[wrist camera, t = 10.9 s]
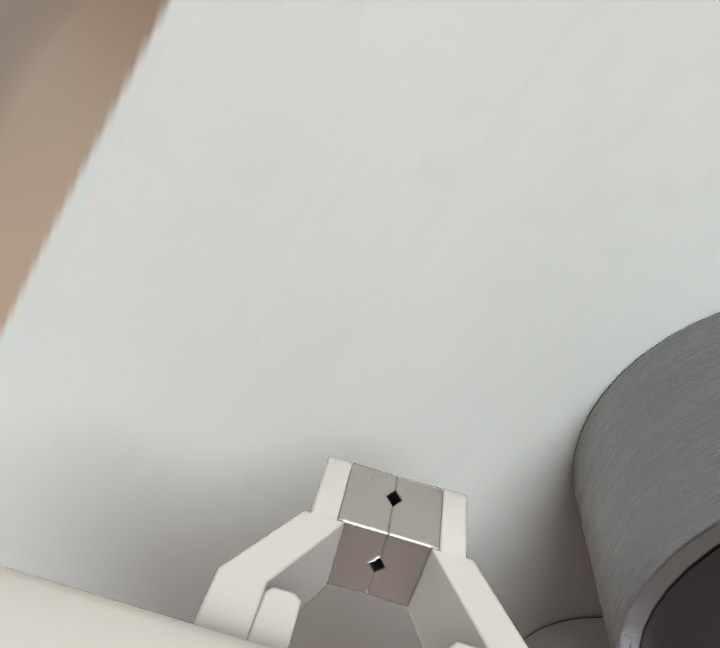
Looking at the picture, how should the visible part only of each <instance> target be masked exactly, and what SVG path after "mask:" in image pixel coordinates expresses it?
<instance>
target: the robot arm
mask: <svg viewBox="0 0 720 648" xmlns="http://www.w3.org/2000/svg"><path fill="white" fill-rule="evenodd" d="M351 466H352V467H351ZM350 470H351V471H350ZM327 583H329V584H333V585H336V586H340V587H344V588H347V589H351V590H355V591H359V592H362V593H366V594H369V595H372V596H375V597H378V598H381V599H385V600H388V601H391V602H394V603H397V604H400V605H403V606H406V607H407V611H408V614H409V616H410V619H411V622H412V624H413V627H414V629H415V632H416V634H417V637H418V639H419V642H420V645H421V647H422V648H528V647H527V645H526V643H525V642H524V640H523V639H522V637H521V635H520V634H519V632H518V631H517V629H516V627H515V626H514V624H513V623H512V621H511V619H510V618H509V616H508V615H507V613H506V611H505V610H504V608H503V607H502V605H501V604H500V602H499V600H498V599H497V597H496V596H495V594H494V592H493V591H492V589H491V588H490V586H489V584H488V583H487V581H486V580H485V578H484V576H483V575H482V573H481V572H480V570H479V568H478V567H477V565H476V564H475V562H474V561H473V560H470V559H467V497H466V495H464V494H460V493H456V492H453V491H449V490H445V489H441V488H437V487H434V486H430V485H426V484H423V483H419V482H416V481H412V480H409V479H405V478H401V477H398V476H394V475H391V474H388V473H384V472H381V471H378V470H375V469H372V468H368V467H365V466H362V465H359V464H356V463H353V464H352V463H351V462H347V461H344V460H341V459H338V458H335V457H332V456H330V457H329V459H328V460H327V463H326V466H325V469H324V472H323V476H322V479H321V482H320V485H319V488H318V491H317V494H316V497H315V500H314V503H313V507H312V510H311V513H310V512H307V511H303V512H301V513H300V514H298V515H297V516H295V517H294V518H292V519H291V520H289V521H288V522H286V523H285V524H283V525H282V526H280V527H279V528H277V529H276V530H274V531H273V532H271V533H270V534H268V535H267V536H265V537H264V538H262V539H261V540H259V541H258V542H256V543H255V544H253V545H252V546H250V547H249V548H247V549H246V550H244V551H243V552H241V553H240V554H238V555H237V556H235V557H234V558H232V559H231V560H229V561H228V562H226V563H225V564H223V565H222V566H220V567H219V568H218V570H217V572H216V574H215V576H214V578H213V581H212V583H211V585H210V587H209V589H208V591H207V594H206V596H205V598H204V600H203V602H202V604H201V607H200V609H199V611H198V613H197V615H196V617H195V620H194V622H193V624H191V623H188V622H185V621H181V620H178V619H175V618H171V617H168V616H165V615H162V614H158V613H155V612H152V611H148V610H145V609H142V608H139V607H135V606H132V605H129V604H125V603H122V602H119V601H116V600H112V599H109V598H106V597H102V596H99V595H96V594H93V593H89V592H86V591H83V590H79V589H76V588H73V587H70V586H66V585H63V584H60V583H56V582H53V581H50V580H47V579H43V578H40V577H37V576H33V575H30V574H27V573H24V572H20V571H17V570H14V569H10V568H7V567H4V566H1V565H0V648H289V644H290V641H291V637H292V633H293V630H294V626H295V622H296V618H297V615H298V612H299V611H300V610H301V609H302V608H303V607H304V606H305V605H306V604H307V603H308V602H309V601H310V600H312V599H313V598H314V597H315V596H316V595H317V594H318V593H319V592H320V591H321V590H322V589H323V588H324V587H325V586H326V585H327Z"/></svg>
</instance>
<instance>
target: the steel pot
mask: <svg viewBox="0 0 720 648" xmlns="http://www.w3.org/2000/svg"><path fill="white" fill-rule="evenodd" d="M573 482H574V492H575V496H576V501H577V505H578V509H579V514H580V518H581V522H582V526H583V531H584V535H585V539H586V544H587V548H588V552H589V557H590V561H591V565H592V570H593V574H594V578H595V583H596V587H597V591H598V596H599V600H600V604H601V609H602V613H603V617H604V622H605V626H606V630H607V635H608V639H609V643H610V648H720V313H717V314H715V315H713V316H710V317H708V318H705V319H703V320H701V321H698V322H696V323H694V324H692V325H690V326H689V327H687V328H685V329H683V330H681V331H679V332H677V333H676V334H674V335H672V336H670V337H668V338H667V339H665V340H664V341H662V342H661V343H660V344H658V345H657V346H655V347H654V348H652V349H651V350H649V351H648V352H646V353H645V354H644V355H642V356H641V357H640V358H639V359H638V360H637V361H635V362H634V363H633V364H632V365H631V366H630V367H628V368H627V369H626V370H625V371H624V372H623V373H622V374H621V375H620V376H619V377H618V378H617V379H616V380H615V381H614V383H613V384H612V385H611V386H610V387H609V388H608V389H607V390H606V391H605V393H604V394H603V396H602V397H601V399H600V400H599V401H598V403H597V404H596V406H595V407H594V409H593V410H592V412H591V414H590V416H589V418H588V420H587V422H586V424H585V426H584V428H583V430H582V432H581V435H580V438H579V442H578V445H577V448H576V451H575V459H574V466H573Z"/></svg>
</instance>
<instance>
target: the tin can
mask: <svg viewBox="0 0 720 648" xmlns="http://www.w3.org/2000/svg"><path fill="white" fill-rule="evenodd" d="M524 642H525V643H526V645H527V647H528V648H610V643H609V639H608V635H607V630H606V626H605V622H604V618H583V619H574V620H569V621H564V622H560V623H556V624H553V625H550V626H548V627H545V628H543V629H540V630H538V631H537V632H535V633H533V634H531V635H530V636H528V637H527V638H526V639H524Z"/></svg>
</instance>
